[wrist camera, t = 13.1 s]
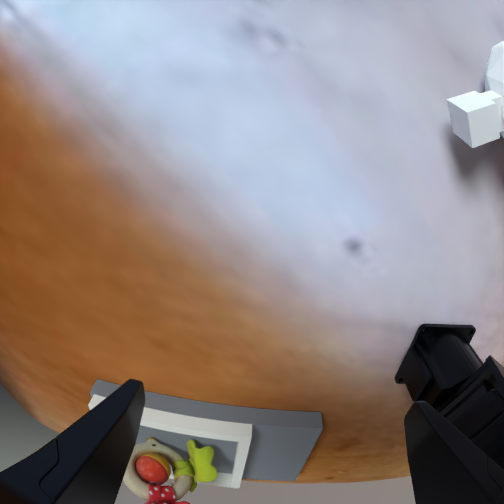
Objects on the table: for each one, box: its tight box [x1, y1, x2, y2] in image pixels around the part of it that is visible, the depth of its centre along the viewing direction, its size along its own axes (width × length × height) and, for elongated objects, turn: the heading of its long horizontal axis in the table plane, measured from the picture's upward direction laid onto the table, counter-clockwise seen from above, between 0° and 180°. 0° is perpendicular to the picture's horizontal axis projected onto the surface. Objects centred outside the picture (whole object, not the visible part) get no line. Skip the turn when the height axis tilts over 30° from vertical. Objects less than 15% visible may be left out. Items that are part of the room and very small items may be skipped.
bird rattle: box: [123, 437, 218, 504], centre depth 23 cm, size 6×11×9 cm
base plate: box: [89, 379, 323, 488], centre depth 28 cm, size 22×12×4 cm, turn 83°
